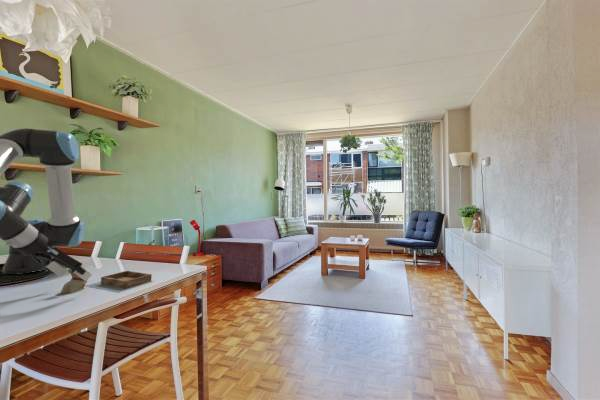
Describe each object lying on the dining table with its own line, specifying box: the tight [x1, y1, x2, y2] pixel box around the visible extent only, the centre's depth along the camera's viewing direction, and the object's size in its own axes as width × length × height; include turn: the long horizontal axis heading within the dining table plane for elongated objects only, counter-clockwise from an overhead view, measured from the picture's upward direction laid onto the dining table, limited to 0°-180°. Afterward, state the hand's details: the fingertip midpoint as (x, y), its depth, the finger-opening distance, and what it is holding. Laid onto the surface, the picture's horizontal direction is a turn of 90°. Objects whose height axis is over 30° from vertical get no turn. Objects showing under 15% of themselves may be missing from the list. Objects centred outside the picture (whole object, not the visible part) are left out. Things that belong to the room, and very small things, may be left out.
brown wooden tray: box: [100, 270, 152, 289], centre depth 117 cm, size 14×12×3 cm
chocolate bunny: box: [59, 268, 88, 295], centre depth 106 cm, size 6×8×10 cm
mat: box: [85, 280, 154, 294], centre depth 116 cm, size 18×16×1 cm
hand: (75, 275), depth 106 cm, fingers open, 13 cm apart
